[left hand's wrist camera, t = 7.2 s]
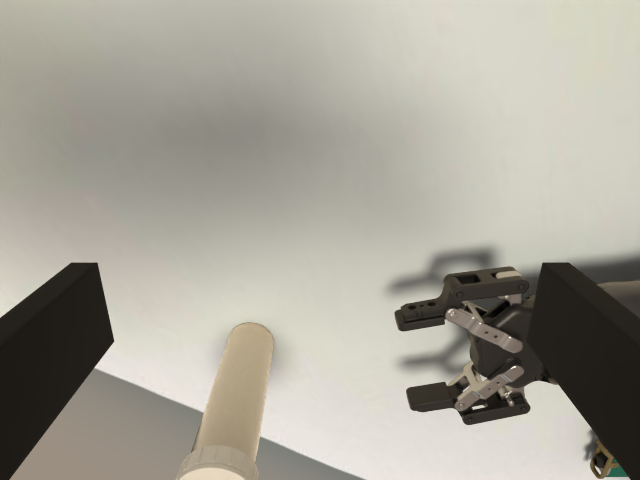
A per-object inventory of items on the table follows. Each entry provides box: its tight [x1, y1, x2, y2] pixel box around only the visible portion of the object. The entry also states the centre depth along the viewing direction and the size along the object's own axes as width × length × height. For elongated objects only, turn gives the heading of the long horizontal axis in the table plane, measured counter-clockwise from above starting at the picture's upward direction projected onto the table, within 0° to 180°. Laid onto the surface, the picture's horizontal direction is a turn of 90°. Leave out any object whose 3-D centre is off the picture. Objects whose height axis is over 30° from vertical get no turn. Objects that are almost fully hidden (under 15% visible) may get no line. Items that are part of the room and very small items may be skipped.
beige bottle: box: [191, 323, 274, 464], centre depth 36 cm, size 5×5×16 cm
